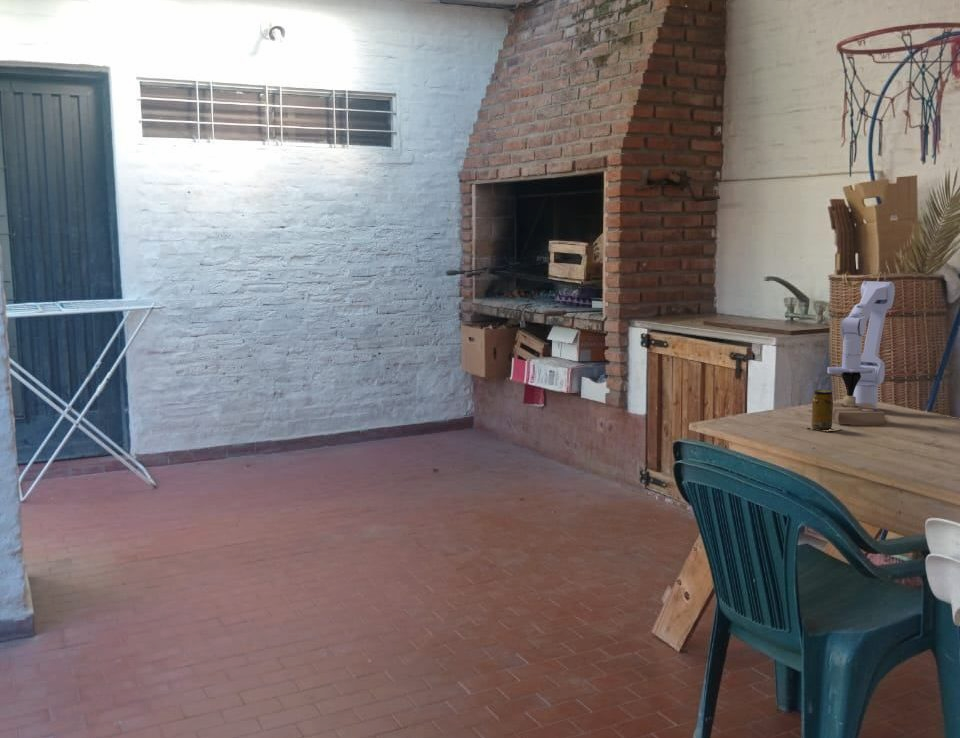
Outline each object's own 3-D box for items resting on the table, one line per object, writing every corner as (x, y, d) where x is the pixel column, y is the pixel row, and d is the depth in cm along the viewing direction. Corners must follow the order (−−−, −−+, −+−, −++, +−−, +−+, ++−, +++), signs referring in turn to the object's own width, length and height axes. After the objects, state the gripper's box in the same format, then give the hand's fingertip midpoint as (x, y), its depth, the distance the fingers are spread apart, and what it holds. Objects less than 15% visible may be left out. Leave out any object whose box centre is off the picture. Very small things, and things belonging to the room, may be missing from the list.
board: (826, 414, 332) (827, 402, 331) (870, 415, 330) (870, 403, 330) (838, 424, 316) (838, 412, 316) (884, 425, 315) (884, 412, 314)
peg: (842, 407, 328) (842, 396, 327) (853, 408, 327) (854, 396, 327) (845, 410, 324) (845, 397, 324) (856, 410, 324) (857, 398, 323)
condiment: (818, 425, 315) (819, 388, 314) (842, 429, 309) (844, 391, 307) (805, 428, 311) (806, 391, 309) (829, 433, 304) (831, 394, 303)
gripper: (831, 355, 320) (829, 397, 322) (878, 356, 318) (876, 397, 320) (826, 352, 327) (824, 393, 329) (872, 353, 325) (870, 394, 327)
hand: (850, 395), depth 325 cm, fingers closed
